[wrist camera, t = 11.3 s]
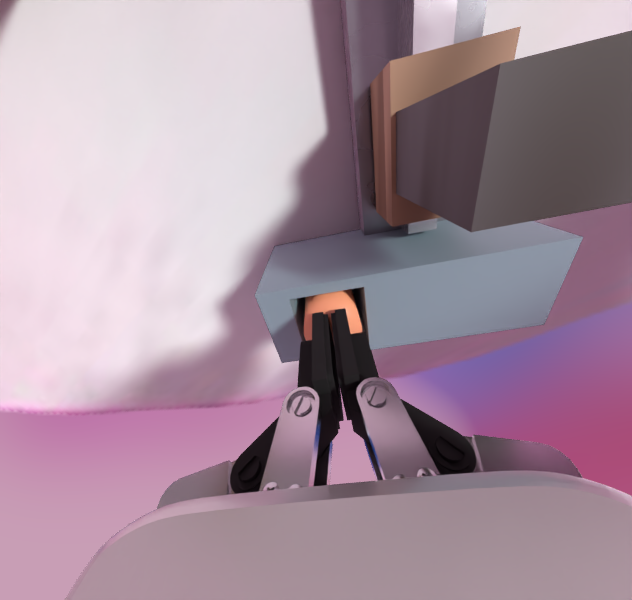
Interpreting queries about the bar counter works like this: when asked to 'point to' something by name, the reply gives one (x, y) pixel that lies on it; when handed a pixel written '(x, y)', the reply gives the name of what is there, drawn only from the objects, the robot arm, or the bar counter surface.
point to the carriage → (503, 132)
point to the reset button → (331, 310)
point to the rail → (375, 53)
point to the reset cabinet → (420, 281)
